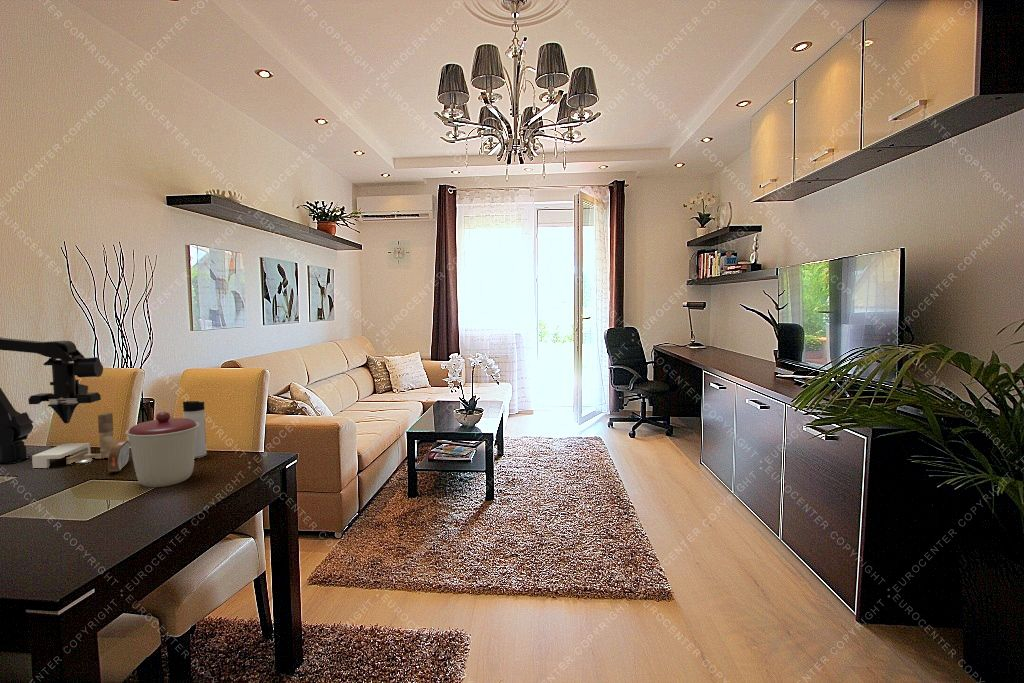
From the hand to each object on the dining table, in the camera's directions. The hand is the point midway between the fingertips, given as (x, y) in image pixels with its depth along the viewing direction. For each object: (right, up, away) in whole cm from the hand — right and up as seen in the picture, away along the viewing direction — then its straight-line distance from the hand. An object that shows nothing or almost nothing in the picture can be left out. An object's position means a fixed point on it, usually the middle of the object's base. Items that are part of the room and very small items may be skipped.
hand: (66, 423), depth 172 cm
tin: (+26, -13, -9) cm, 30 cm away
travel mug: (+43, -12, +2) cm, 45 cm away
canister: (+49, -14, -21) cm, 55 cm away
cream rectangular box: (+2, -12, -4) cm, 13 cm away
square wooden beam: (+11, -12, -3) cm, 16 cm away
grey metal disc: (+10, -13, -5) cm, 17 cm away
